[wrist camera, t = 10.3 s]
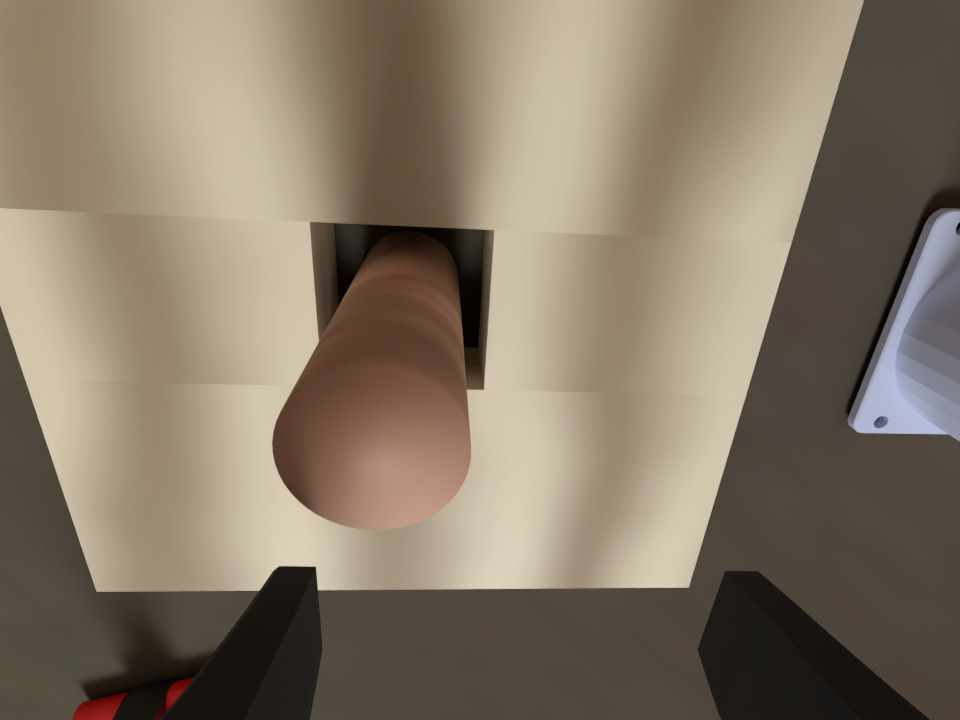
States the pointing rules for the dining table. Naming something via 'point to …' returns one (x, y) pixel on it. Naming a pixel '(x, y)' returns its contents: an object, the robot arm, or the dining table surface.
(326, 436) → the peg
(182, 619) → the dining table surface
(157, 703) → the tow hook
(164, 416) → the socket block
